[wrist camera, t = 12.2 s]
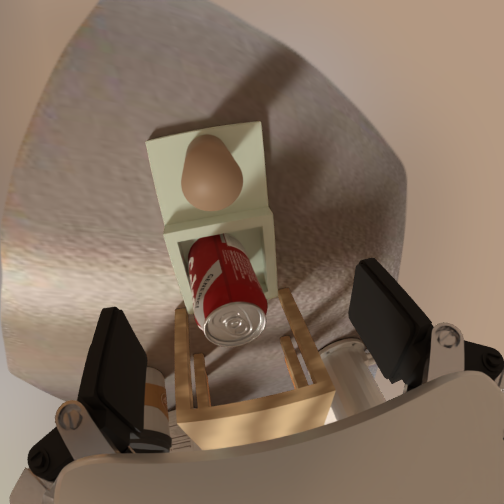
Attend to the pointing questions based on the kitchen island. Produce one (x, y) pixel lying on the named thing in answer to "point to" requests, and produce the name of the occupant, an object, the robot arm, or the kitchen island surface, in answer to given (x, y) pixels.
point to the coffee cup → (154, 417)
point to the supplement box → (180, 436)
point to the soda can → (225, 291)
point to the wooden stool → (256, 410)
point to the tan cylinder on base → (215, 196)
